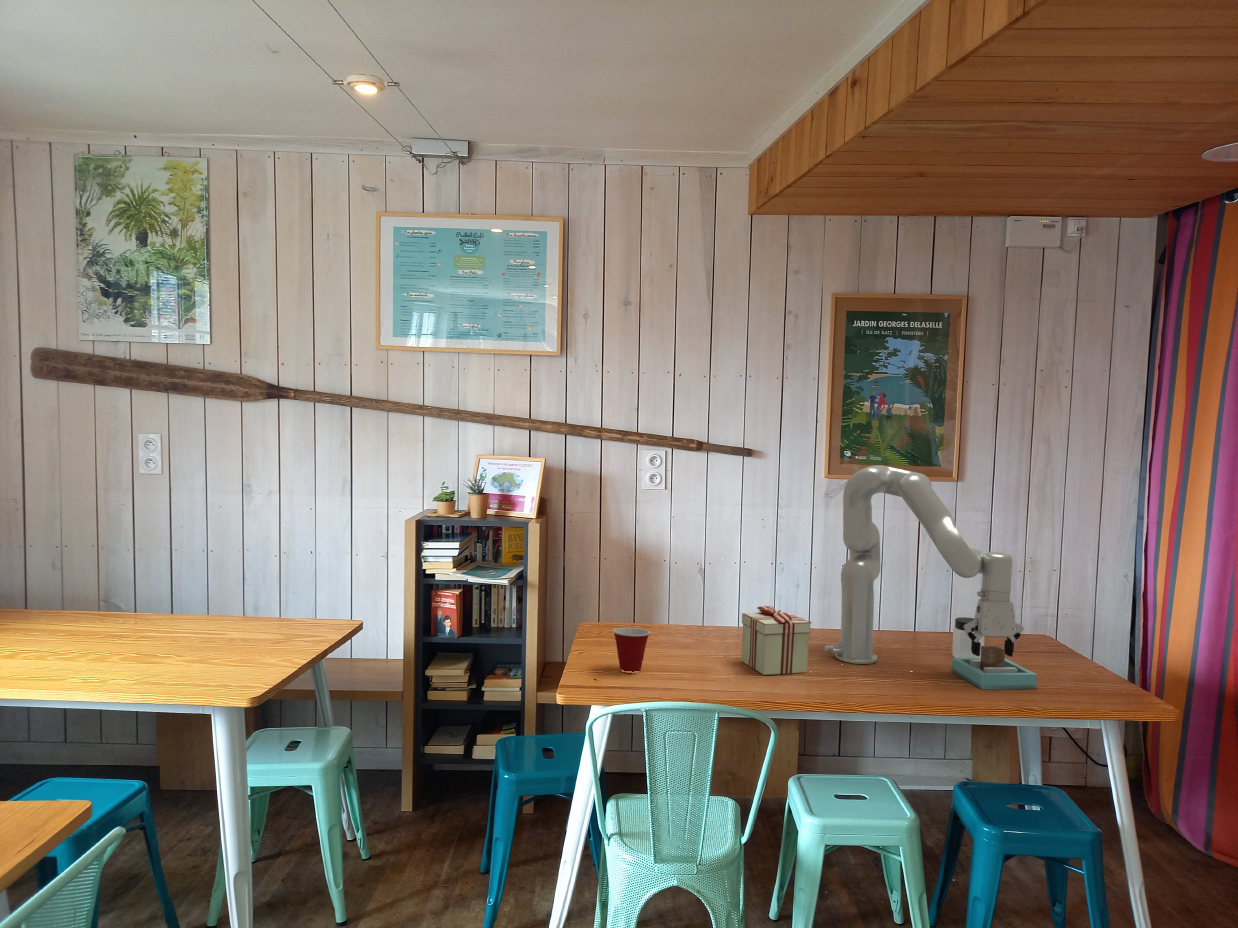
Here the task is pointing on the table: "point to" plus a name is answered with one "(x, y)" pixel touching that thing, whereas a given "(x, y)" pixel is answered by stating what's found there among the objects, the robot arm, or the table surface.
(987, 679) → the candle dish
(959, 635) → the jar
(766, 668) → the gift box
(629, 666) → the plastic cup
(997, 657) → the brown wooden block
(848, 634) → the robot arm
